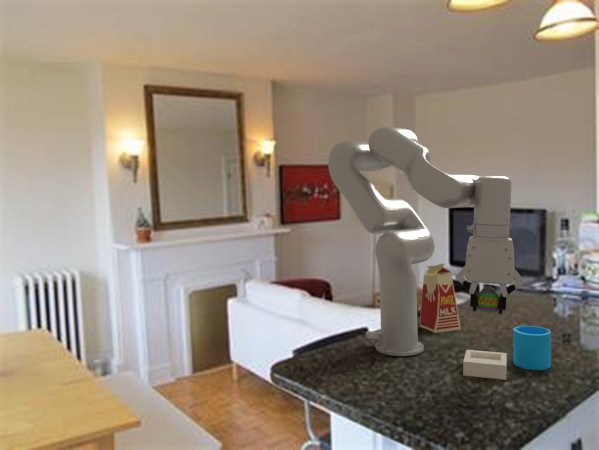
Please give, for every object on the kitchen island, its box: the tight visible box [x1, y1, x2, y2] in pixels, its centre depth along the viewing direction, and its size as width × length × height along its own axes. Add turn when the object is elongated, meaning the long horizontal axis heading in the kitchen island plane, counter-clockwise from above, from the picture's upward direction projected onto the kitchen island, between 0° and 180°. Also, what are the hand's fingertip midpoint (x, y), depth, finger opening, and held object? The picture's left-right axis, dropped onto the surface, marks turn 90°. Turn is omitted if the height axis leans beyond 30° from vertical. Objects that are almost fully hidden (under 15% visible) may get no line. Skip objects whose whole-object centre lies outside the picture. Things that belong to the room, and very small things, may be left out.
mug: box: [512, 325, 552, 371], centre depth 125 cm, size 12×8×8 cm
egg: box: [477, 285, 500, 315], centre depth 117 cm, size 5×5×6 cm
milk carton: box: [419, 263, 462, 334], centre depth 156 cm, size 9×9×20 cm
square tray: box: [462, 349, 508, 381], centre depth 120 cm, size 9×9×3 cm
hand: (487, 310), depth 117 cm, fingers closed on egg, 4 cm apart
